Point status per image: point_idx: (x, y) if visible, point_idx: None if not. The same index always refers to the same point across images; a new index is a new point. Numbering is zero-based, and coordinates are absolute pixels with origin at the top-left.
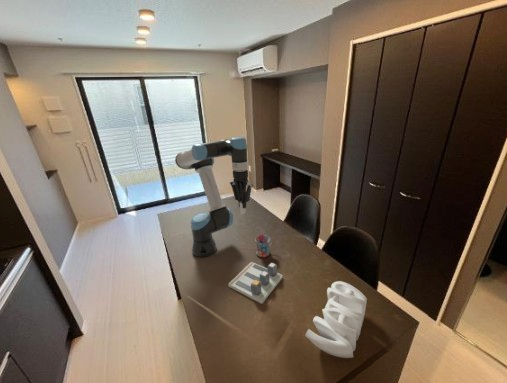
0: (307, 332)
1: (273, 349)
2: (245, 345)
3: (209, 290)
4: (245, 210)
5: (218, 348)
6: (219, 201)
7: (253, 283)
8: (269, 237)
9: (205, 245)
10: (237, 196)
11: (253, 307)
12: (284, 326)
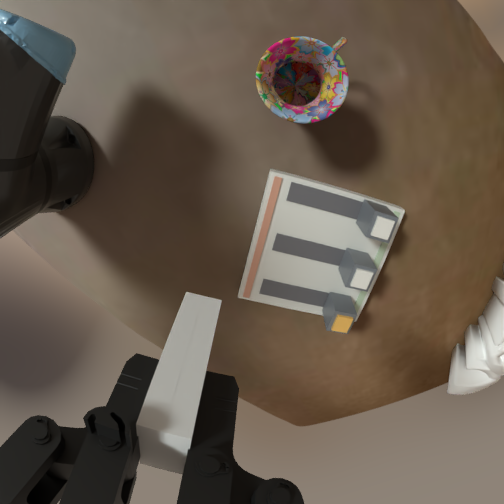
0: (451, 389)
1: (386, 380)
2: (337, 390)
3: None
4: (217, 317)
5: (292, 404)
6: None
7: (335, 330)
8: (336, 55)
9: (56, 199)
10: (20, 450)
11: None
12: (406, 343)
